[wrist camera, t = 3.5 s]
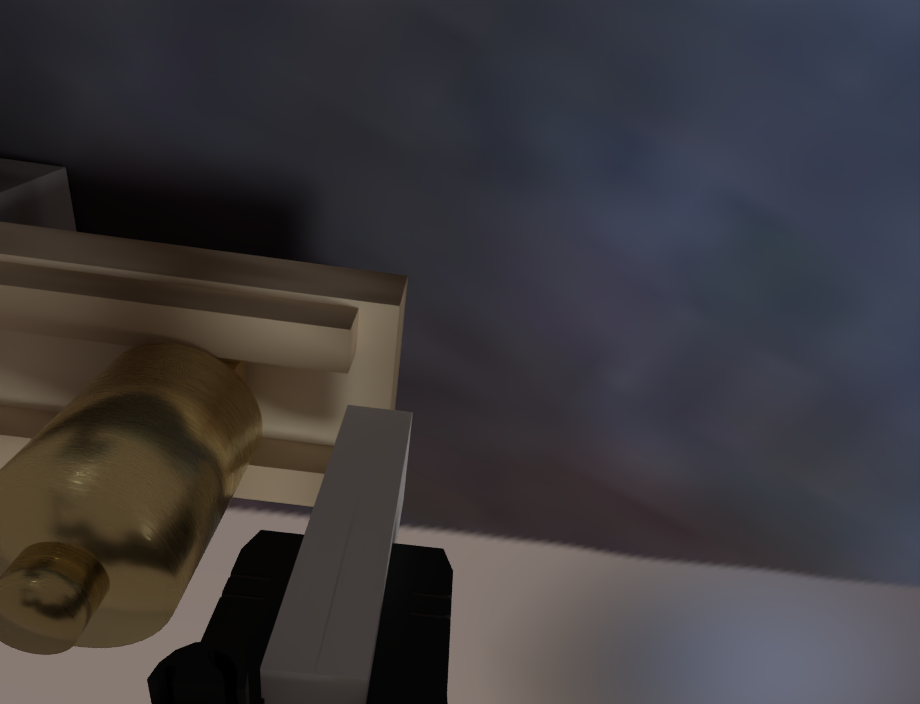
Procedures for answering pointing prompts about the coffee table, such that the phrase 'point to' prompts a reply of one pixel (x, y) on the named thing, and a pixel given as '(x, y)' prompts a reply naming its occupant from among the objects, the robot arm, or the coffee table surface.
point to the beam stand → (188, 328)
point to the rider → (121, 499)
